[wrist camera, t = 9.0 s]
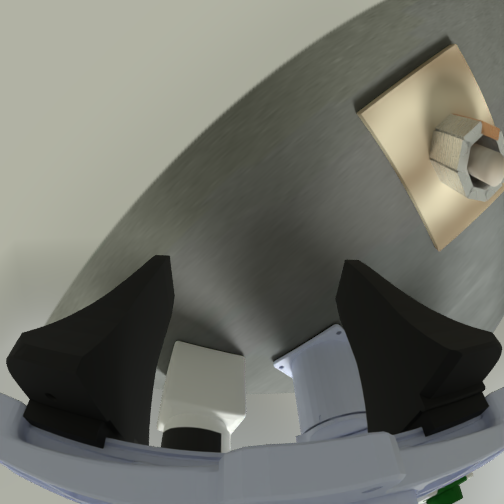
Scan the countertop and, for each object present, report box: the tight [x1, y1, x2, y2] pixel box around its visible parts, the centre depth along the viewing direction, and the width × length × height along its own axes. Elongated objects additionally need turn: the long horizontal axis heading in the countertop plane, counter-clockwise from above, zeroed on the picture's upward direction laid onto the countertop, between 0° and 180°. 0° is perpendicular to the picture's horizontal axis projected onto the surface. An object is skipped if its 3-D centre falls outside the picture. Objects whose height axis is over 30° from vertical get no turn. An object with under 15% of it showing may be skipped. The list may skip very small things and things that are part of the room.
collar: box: [429, 114, 504, 202], centre depth 16 cm, size 6×6×4 cm
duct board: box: [357, 44, 504, 251], centre depth 16 cm, size 14×11×6 cm
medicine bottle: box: [157, 341, 246, 453], centre depth 24 cm, size 7×7×12 cm
